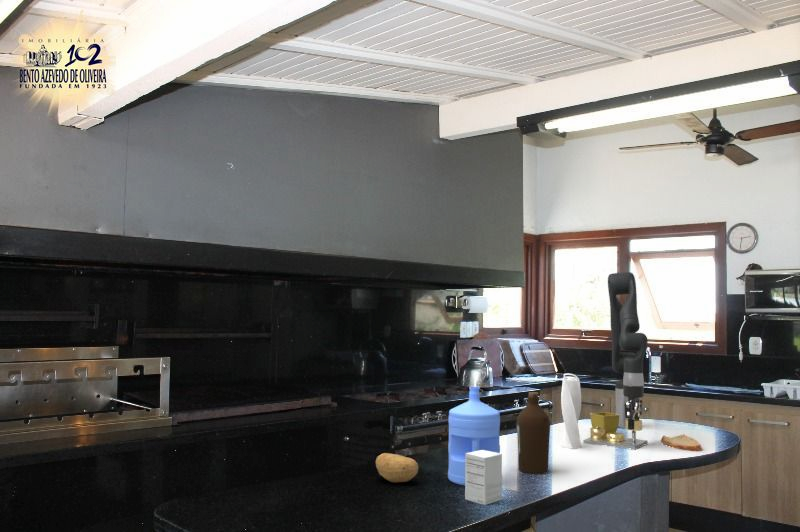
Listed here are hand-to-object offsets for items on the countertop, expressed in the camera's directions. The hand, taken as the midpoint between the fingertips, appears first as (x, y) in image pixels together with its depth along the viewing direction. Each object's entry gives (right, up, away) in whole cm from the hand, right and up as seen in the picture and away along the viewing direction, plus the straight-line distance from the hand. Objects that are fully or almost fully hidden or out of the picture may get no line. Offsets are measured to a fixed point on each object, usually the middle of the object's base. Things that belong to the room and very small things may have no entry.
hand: (633, 428), depth 271 cm
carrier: (-6, -7, +4) cm, 10 cm away
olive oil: (-47, -4, -45) cm, 65 cm away
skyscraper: (-26, -6, -5) cm, 27 cm away
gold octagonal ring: (0, 0, 0) cm, 0 cm away
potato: (-91, -2, -62) cm, 110 cm away
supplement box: (-68, -1, -81) cm, 105 cm away
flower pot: (-5, -8, +21) cm, 23 cm away
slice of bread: (+20, -8, +2) cm, 21 cm away
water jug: (-68, -2, -59) cm, 90 cm away
